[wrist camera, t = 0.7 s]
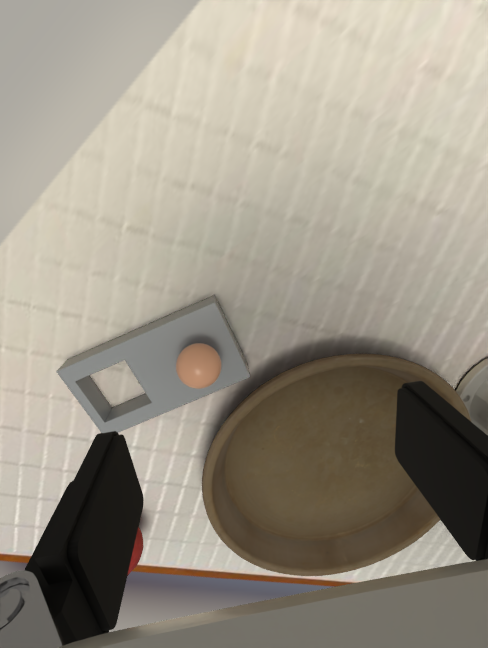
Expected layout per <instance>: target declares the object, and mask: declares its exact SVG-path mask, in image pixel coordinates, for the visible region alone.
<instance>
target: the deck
mask: <svg viewBox="0 0 488 648" xmlns="http://www.w3.org/2000/svg"><path fill="white" fill-rule="evenodd" d="M196 343H202V344H207V345H209V346H211V347H212V348H214V349H215V350H216V352H217V353H218V355H219V356H220V359H221V372H220V375H219V377H218V378H217V380H216V381H215V382H214V383H213V384H211V385H210V386H208V387H205V388H201V389H196V388H191V387H189V386H187V385H185V384H184V383H183V382H182V381H181V380H180V378H179V377H178V375H177V371H176V361H177V358H178V356H179V354H180V353H181V351H182V350H183V349H184V348H186V347H187V346H189V345H192V344H196ZM123 360H125V361H126V363H127V364H128V366H129V367H130V369H131V370H132V372H133V374H134V375H135V377H136V378H137V380H138V382H139V383H140V385H141V386H142V388H143V389H144V391H145V393H146V394H144V395H141V396H139V397H137V398H134V399H132V400H130V401H127V402H125V403H123V404H120V405H118V406H115V407H113V408H112V407H111V406H110V404H109V403H108V402H107V400H106V399H105V397H104V396H103V394H102V393H101V392H100V390H99V389H98V387H97V386H96V384H95V383H94V382H93V380H92V379H91V377H90V376H89V375H91V374H93V373H96V372H98V371H100V370H103V369H105V368H107V367H109V366H112V365H114V364H116V363H119V362H121V361H123ZM56 372H57V373H58V374H59V376H60V377H61V379H62V380H63V381H64V383H65V384H66V385H67V387H68V388H69V389H70V391H71V392H72V393H73V395H74V396H75V397H76V399H77V400H78V402H79V403H80V404H81V406H82V407H83V408H84V410H85V411H86V412H87V414H88V415H89V416H90V418H91V419H92V421H93V422H94V423H95V425H96V426H97V427H98V429H99V430H100V431H101V433H106V432H112V431H117V433H118V432H121V431H123V430H125V429H128V428H130V427H132V426H135V425H137V424H140V423H142V422H144V421H147V420H149V419H151V418H154V417H156V416H159V415H161V414H163V413H166V412H168V411H171V410H173V409H175V408H178V407H180V406H182V405H185V404H187V403H190V402H192V401H194V400H197V399H199V398H201V397H204V396H206V395H209V394H211V393H213V392H216V391H218V390H220V389H223V388H225V387H228V386H230V385H232V384H235V383H237V382H240V381H242V380H244V379H247V378H249V377H250V373H249V368H248V365H247V363H246V360H245V358H244V356H243V354H242V352H241V350H240V348H239V346H238V344H237V341H236V339H235V337H234V335H233V333H232V331H231V329H230V327H229V324H228V322H227V320H226V318H225V316H224V314H223V312H222V310H221V308H220V305H219V303H218V301H217V299H216V297H215V295H214V296H211V297H209V298H207V299H205V300H202V301H200V302H198V303H195V304H193V305H191V306H189V307H186V308H184V309H182V310H179V311H177V312H175V313H173V314H170V315H168V316H166V317H163V318H161V319H159V320H157V321H154V322H152V323H150V324H147V325H145V326H143V327H140V328H138V329H136V330H134V331H131V332H129V333H127V334H124V335H122V336H120V337H118V338H115V339H113V340H111V341H108V342H106V343H104V344H102V345H99V346H97V347H95V348H92V349H90V350H88V351H86V352H83V353H81V354H79V355H76V356H74V357H72V358H70V359H67V361H66V362H65V363H64V364H63V365H62V366H61V367H60V368H59V369H58V370H57V371H56Z"/></svg>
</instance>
